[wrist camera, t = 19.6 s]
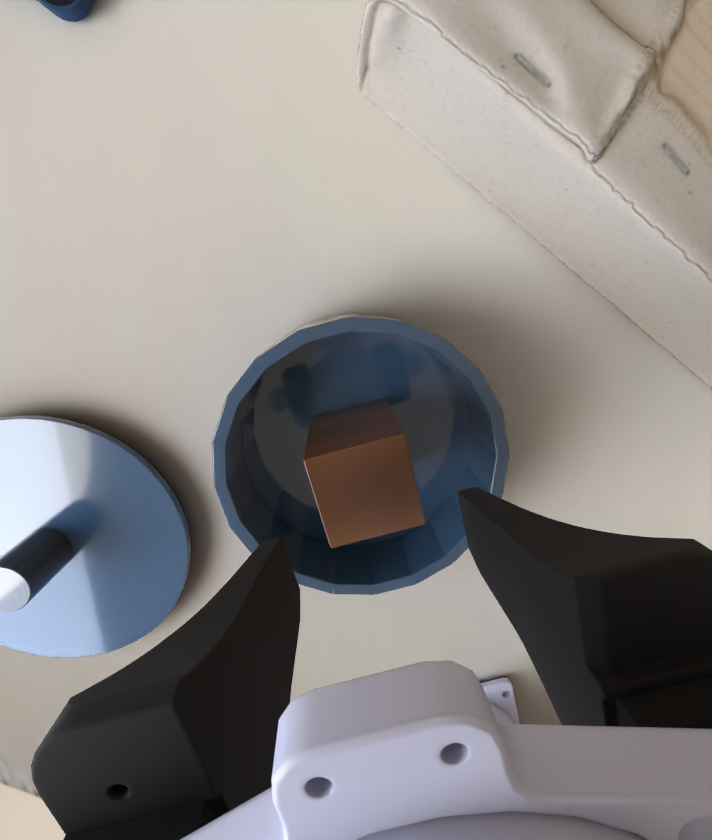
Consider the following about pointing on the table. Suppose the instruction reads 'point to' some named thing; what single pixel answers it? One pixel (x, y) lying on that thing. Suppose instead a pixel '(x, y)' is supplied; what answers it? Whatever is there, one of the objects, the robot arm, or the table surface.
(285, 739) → the robot arm
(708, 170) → the box
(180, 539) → the lid
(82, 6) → the smartphone
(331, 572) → the pot
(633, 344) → the table surface
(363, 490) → the block
